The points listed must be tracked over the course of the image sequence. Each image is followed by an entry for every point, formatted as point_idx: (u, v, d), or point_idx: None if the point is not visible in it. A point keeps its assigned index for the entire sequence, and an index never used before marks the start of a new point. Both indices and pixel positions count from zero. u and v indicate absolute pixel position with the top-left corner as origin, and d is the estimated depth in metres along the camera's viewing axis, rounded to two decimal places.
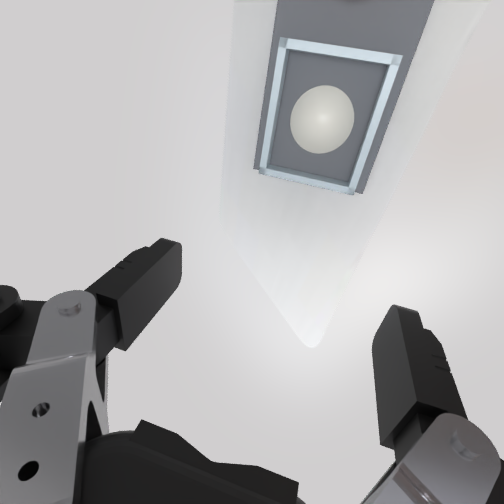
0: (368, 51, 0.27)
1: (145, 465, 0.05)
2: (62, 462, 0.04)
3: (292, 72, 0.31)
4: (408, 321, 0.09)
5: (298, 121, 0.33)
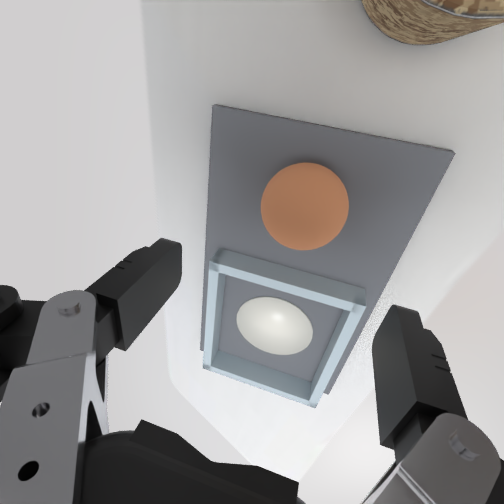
0: (321, 294, 0.20)
1: (145, 465, 0.05)
2: (62, 462, 0.04)
3: (234, 279, 0.24)
4: (408, 321, 0.09)
5: (246, 323, 0.27)
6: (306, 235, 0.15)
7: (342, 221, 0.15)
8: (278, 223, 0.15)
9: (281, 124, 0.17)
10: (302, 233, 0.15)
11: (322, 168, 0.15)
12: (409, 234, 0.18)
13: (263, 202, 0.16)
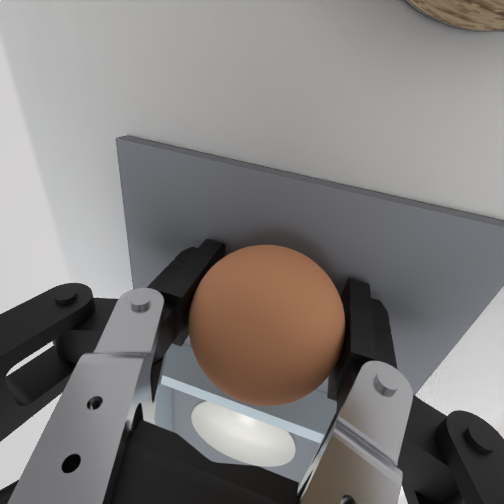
0: (303, 428, 0.13)
1: (145, 465, 0.05)
2: (100, 464, 0.04)
3: None
4: (358, 291, 0.10)
5: (205, 425, 0.19)
6: (263, 400, 0.08)
7: (333, 365, 0.08)
8: (210, 372, 0.08)
9: (229, 172, 0.10)
10: (254, 397, 0.08)
11: (294, 266, 0.08)
12: (445, 349, 0.11)
13: (189, 320, 0.09)
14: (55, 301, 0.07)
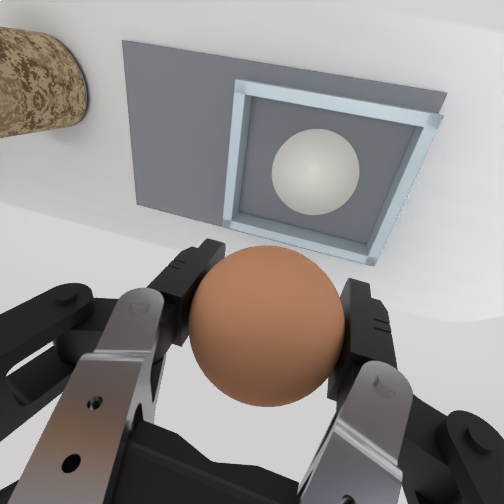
0: (232, 126, 0.21)
1: (145, 465, 0.05)
2: (100, 464, 0.04)
3: (258, 209, 0.26)
4: (358, 291, 0.10)
5: (311, 204, 0.25)
6: (262, 401, 0.08)
7: (332, 366, 0.08)
8: (210, 373, 0.08)
9: (135, 162, 0.28)
10: (254, 398, 0.08)
11: (294, 268, 0.08)
12: (182, 52, 0.22)
13: (189, 321, 0.09)
14: (55, 301, 0.07)
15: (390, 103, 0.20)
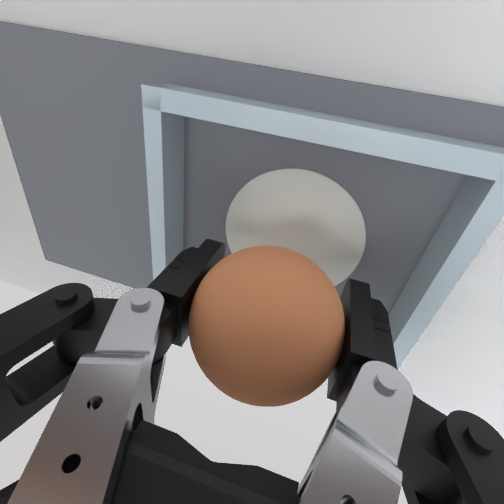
0: (147, 165, 0.12)
1: (145, 465, 0.05)
2: (100, 464, 0.04)
3: None
4: (358, 291, 0.10)
5: None
6: (262, 400, 0.08)
7: (333, 366, 0.08)
8: (210, 373, 0.08)
9: (32, 205, 0.19)
10: (254, 398, 0.08)
11: (294, 267, 0.08)
12: (64, 37, 0.13)
13: (189, 321, 0.09)
14: (55, 301, 0.07)
15: (424, 129, 0.11)
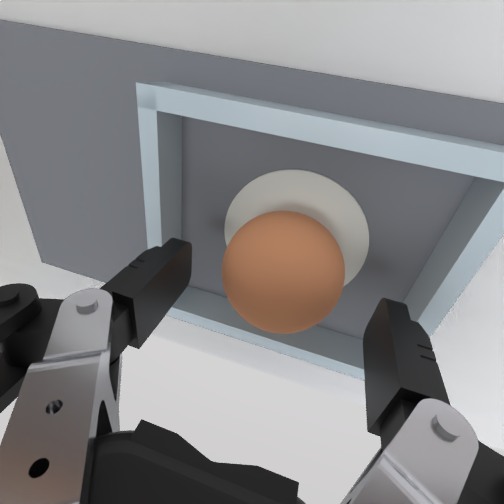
0: (143, 166, 0.12)
1: (145, 465, 0.05)
2: (71, 461, 0.04)
3: (210, 283, 0.17)
4: (396, 313, 0.09)
5: None
6: (282, 323, 0.10)
7: (335, 299, 0.11)
8: (242, 303, 0.10)
9: (27, 206, 0.18)
10: (276, 320, 0.10)
11: (306, 223, 0.10)
12: (57, 34, 0.12)
13: (223, 268, 0.11)
14: None
15: (431, 129, 0.10)
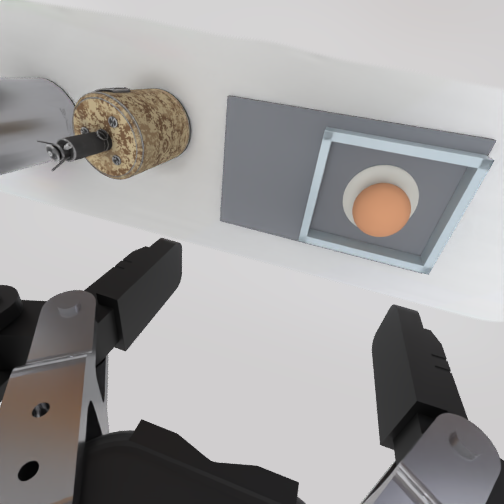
0: (317, 164, 0.27)
1: (145, 465, 0.05)
2: (61, 461, 0.04)
3: (328, 226, 0.32)
4: (408, 321, 0.09)
5: None
6: (387, 226, 0.25)
7: (408, 218, 0.25)
8: (369, 219, 0.25)
9: (224, 188, 0.34)
10: (385, 225, 0.25)
11: (395, 186, 0.25)
12: (277, 106, 0.28)
13: (357, 207, 0.26)
14: None
15: (448, 147, 0.25)
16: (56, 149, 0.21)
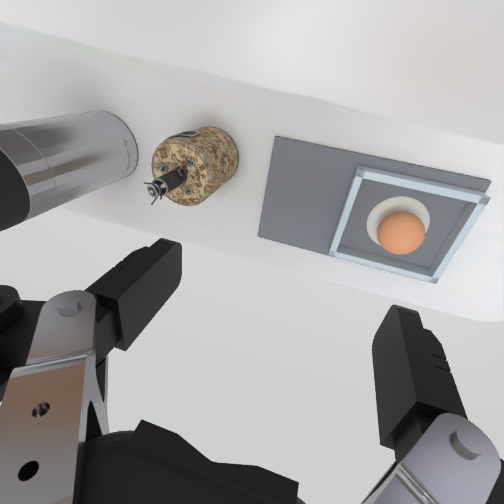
0: (349, 195, 0.33)
1: (145, 465, 0.05)
2: (62, 461, 0.04)
3: (352, 243, 0.38)
4: (408, 321, 0.09)
5: None
6: (407, 247, 0.32)
7: None
8: (393, 241, 0.32)
9: (264, 209, 0.40)
10: (405, 246, 0.31)
11: (413, 215, 0.32)
12: (317, 147, 0.34)
13: (382, 231, 0.33)
14: None
15: (454, 185, 0.32)
16: (156, 188, 0.27)
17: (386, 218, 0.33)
